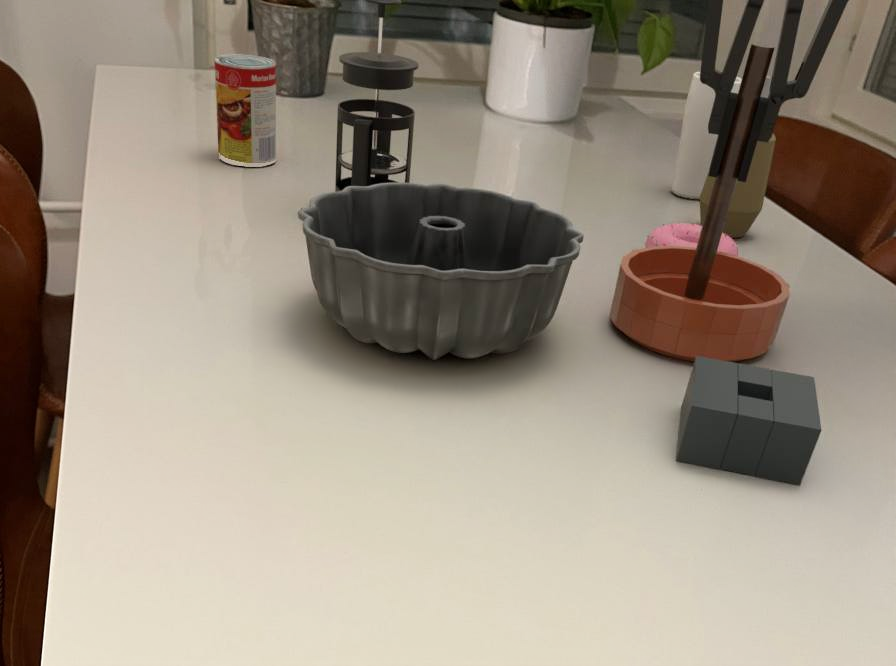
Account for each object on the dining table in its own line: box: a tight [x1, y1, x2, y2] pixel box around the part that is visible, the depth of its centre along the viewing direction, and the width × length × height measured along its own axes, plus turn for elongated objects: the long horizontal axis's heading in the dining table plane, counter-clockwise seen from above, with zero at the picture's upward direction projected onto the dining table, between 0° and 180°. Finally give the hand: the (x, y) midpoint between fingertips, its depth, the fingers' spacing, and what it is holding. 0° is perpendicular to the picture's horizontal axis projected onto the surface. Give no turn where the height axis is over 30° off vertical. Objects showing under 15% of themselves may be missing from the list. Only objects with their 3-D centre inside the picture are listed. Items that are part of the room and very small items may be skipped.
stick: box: [684, 42, 775, 300], centre depth 92 cm, size 2×2×22 cm
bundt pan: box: [297, 181, 585, 361], centre depth 94 cm, size 26×26×10 cm
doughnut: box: [644, 222, 740, 257], centre depth 115 cm, size 11×11×4 cm
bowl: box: [609, 246, 791, 363], centre depth 100 cm, size 17×17×6 cm
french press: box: [334, 0, 419, 192], centre depth 114 cm, size 12×9×23 cm
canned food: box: [214, 53, 277, 163], centre depth 132 cm, size 8×8×12 cm
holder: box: [675, 356, 822, 486], centre depth 82 cm, size 10×10×5 cm
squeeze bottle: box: [699, 75, 777, 239], centre depth 123 cm, size 8×8×18 cm
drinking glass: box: [670, 71, 742, 200], centre depth 136 cm, size 7×7×15 cm
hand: (727, 175), depth 92 cm, fingers closed on stick, 2 cm apart
